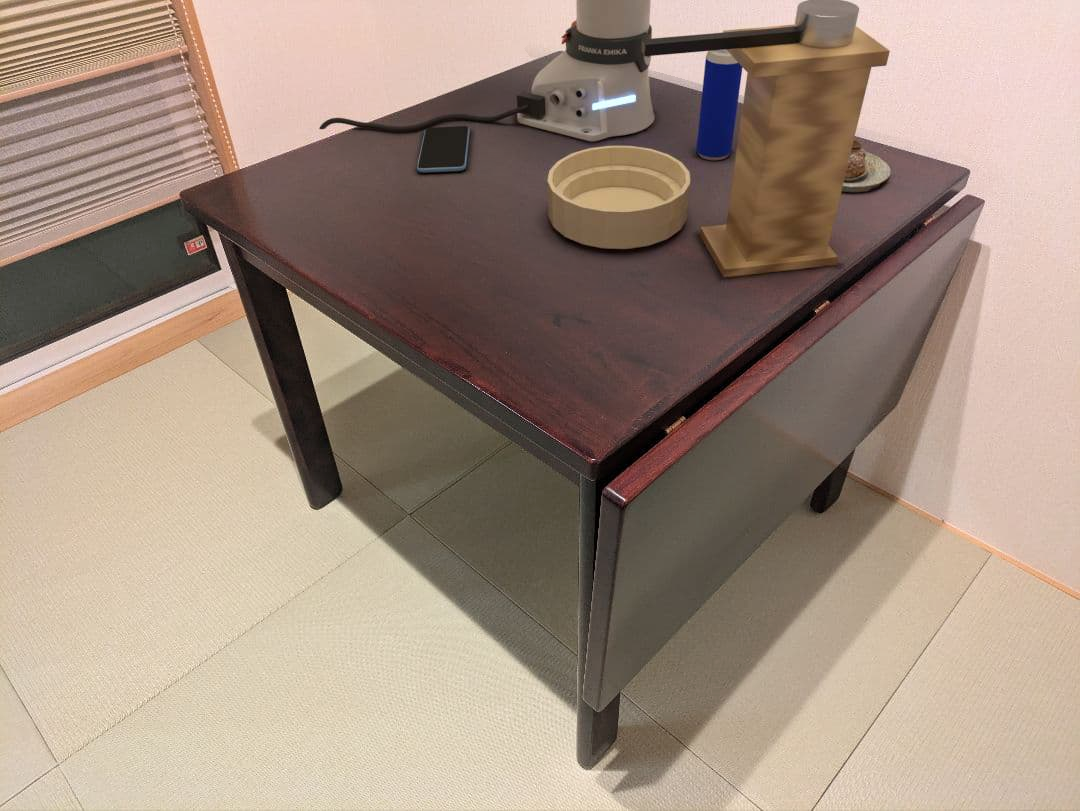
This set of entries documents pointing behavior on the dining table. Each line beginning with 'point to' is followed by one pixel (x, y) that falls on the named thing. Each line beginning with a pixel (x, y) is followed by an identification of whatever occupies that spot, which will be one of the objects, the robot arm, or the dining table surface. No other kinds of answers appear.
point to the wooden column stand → (791, 153)
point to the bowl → (618, 196)
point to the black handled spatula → (773, 32)
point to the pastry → (864, 170)
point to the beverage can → (718, 105)
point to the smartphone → (444, 149)
